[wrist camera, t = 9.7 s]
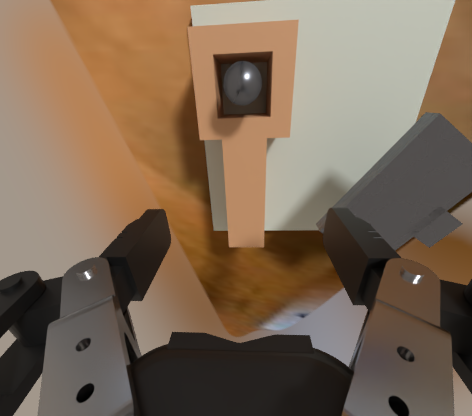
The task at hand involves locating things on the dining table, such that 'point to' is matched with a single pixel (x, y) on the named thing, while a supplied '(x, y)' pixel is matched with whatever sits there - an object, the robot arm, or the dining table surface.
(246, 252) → the dining table surface
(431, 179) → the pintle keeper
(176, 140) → the dining table surface
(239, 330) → the dining table surface
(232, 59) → the link
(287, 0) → the board
